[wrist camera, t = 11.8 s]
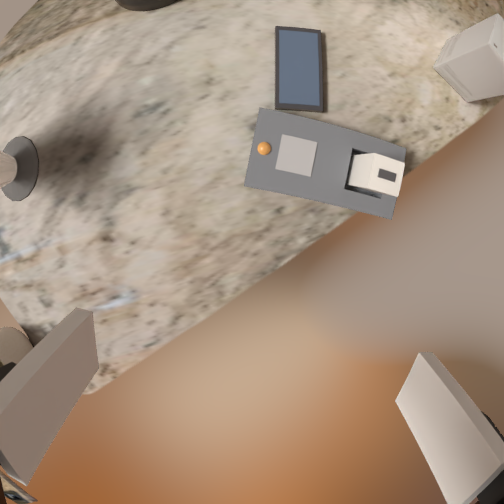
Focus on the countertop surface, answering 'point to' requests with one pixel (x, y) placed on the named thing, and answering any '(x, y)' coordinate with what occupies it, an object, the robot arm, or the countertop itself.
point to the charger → (375, 173)
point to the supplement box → (475, 60)
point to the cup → (18, 168)
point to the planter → (13, 345)
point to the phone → (298, 69)
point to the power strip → (315, 161)
